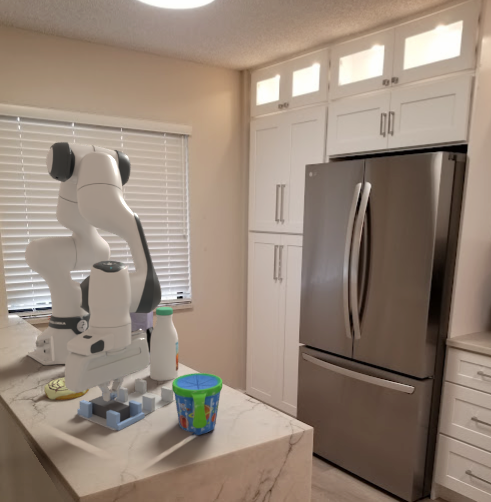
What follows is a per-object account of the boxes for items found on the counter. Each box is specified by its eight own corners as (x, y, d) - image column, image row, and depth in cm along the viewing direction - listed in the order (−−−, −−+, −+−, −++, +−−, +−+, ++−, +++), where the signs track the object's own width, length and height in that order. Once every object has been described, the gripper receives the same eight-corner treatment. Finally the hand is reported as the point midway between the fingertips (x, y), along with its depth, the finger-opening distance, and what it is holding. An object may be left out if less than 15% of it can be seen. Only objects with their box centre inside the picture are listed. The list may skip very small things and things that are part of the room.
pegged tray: (75, 419, 93) (75, 401, 93) (137, 392, 108) (137, 377, 108) (116, 436, 86) (116, 416, 86) (177, 405, 101) (177, 388, 101)
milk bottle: (172, 385, 114) (172, 311, 113) (145, 382, 115) (145, 310, 114) (182, 375, 121) (182, 306, 120) (157, 373, 123) (156, 305, 122)
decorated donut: (46, 408, 99) (46, 392, 99) (43, 392, 108) (42, 378, 108) (93, 399, 104) (92, 384, 104) (85, 385, 114) (85, 371, 113)
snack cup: (176, 412, 97) (176, 368, 97) (222, 411, 98) (222, 368, 97) (167, 447, 82) (167, 396, 81) (222, 446, 82) (222, 395, 82)
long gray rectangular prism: (88, 412, 94) (88, 401, 94) (101, 407, 97) (101, 396, 97) (117, 423, 89) (117, 411, 89) (129, 417, 92) (129, 405, 92)
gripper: (136, 325, 102) (137, 381, 103) (59, 344, 85) (60, 411, 86) (155, 329, 99) (155, 387, 100) (79, 349, 82) (80, 419, 82)
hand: (111, 398), depth 93 cm, fingers closed
